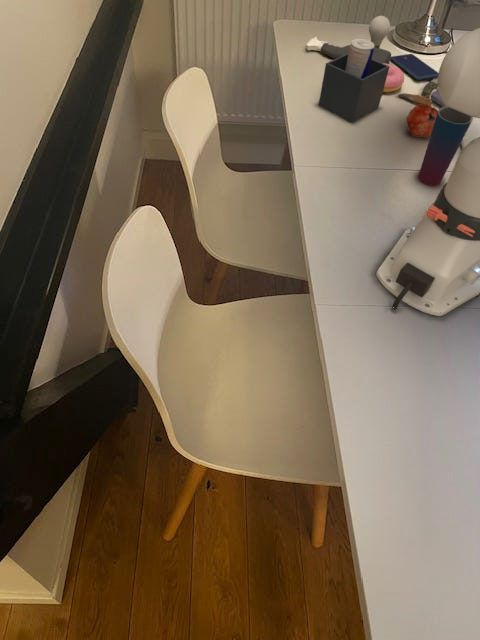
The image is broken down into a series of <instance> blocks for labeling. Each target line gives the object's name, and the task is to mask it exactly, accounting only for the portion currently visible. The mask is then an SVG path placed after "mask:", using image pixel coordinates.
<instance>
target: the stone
mask: <svg viewBox="0 0 480 640" xmlns="http://www.w3.org/2000/svg"><path fill="white" fill-rule="evenodd" d="M398 97H399V98H401V99H404V100H407V101H410V102H413V103H415V104H417V105H420V104H428V105H429V106H430V107H432V105H433V100H431V98H430V97H429V98H428V97H423V96H421V94H420V95H419V94H412V93H407V92H404V93H399V94H398Z"/></svg>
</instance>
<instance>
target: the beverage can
mask: <svg viewBox="0 0 480 640" xmlns="http://www.w3.org/2000/svg"><path fill="white" fill-rule="evenodd" d="M349 45H350V49H349V54H348V59H347V64H346V68H345V71H346V72H348V73H350V74H352V75H355V76H357V77H359V78H361V79H363V78H365V77H367V76H368V72H369V68H370V64H371V60H372V55H373V51H374V43H372V42H371V40H369V39H364V38H355V39H352V40H351V42H350V44H349Z"/></svg>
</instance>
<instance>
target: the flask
mask: <svg viewBox="0 0 480 640" xmlns="http://www.w3.org/2000/svg"><path fill="white" fill-rule="evenodd" d="M430 99H431V100H432V102H435V103H436V104H437V105H440V106H441V107H446V106H445V105H444V103H443V101H442V99H441V97H440V94H439V89H438V87H436V90H434V91H432V92H431V94H430Z"/></svg>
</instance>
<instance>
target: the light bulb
mask: <svg viewBox="0 0 480 640" xmlns="http://www.w3.org/2000/svg"><path fill="white" fill-rule="evenodd" d="M390 29H391V22H390V19H388V17H386V16H385V15H377V16H375V17H374V18H373V19H372V20H371V21H370V22H369V25H368V33H369V36H370V41H371V42H372V43H374V47H377V48H381V45H382V42H383V40H384V39H385V38H386V37H387V36H388V35H389V33H390Z"/></svg>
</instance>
